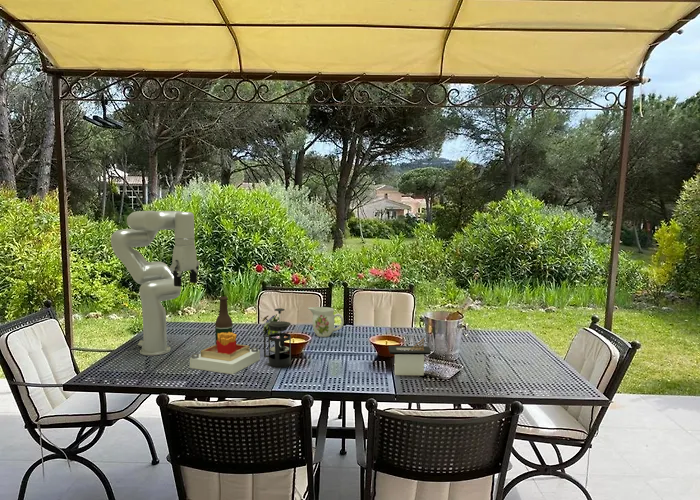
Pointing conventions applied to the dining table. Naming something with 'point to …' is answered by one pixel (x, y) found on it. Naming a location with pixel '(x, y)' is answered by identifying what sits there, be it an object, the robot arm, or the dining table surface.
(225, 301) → the beer bottle
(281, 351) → the french press
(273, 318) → the passion flower
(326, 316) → the pitcher
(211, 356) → the gold-rimmed square tray
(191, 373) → the dining table surface
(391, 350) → the dark-capped white block
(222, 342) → the french fries
